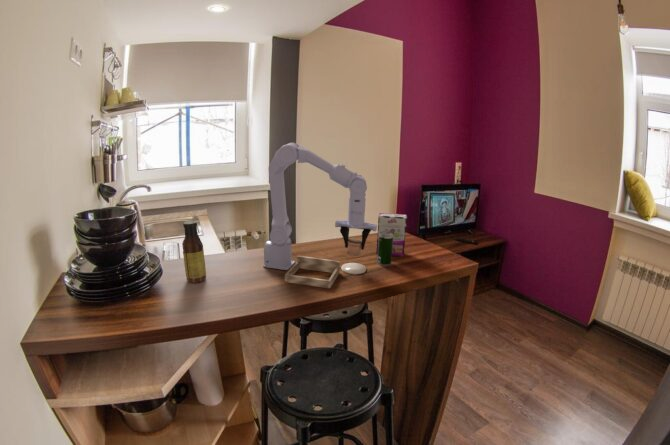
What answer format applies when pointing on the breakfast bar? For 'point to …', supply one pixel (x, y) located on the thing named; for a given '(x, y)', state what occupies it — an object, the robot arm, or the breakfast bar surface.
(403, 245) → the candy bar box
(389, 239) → the beer can
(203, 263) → the sauce bottle
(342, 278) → the breakfast bar surface
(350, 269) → the coaster
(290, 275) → the frame
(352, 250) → the flower pot
